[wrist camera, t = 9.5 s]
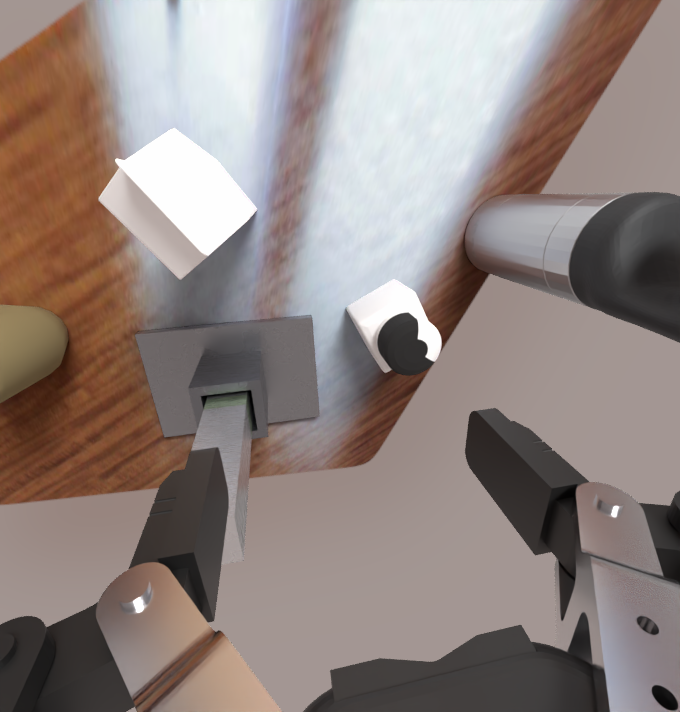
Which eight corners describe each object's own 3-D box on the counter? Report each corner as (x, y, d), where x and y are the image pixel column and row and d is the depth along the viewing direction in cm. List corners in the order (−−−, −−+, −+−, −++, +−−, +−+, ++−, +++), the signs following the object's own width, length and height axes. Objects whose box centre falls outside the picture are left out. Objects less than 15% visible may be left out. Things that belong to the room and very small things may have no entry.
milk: (217, 245, 40) (166, 295, 20) (173, 198, 38) (66, 201, 18) (258, 208, 39) (249, 223, 19) (217, 157, 37) (157, 114, 17)
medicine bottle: (369, 351, 48) (398, 395, 38) (344, 306, 45) (368, 340, 35) (416, 324, 48) (459, 360, 37) (394, 277, 45) (434, 302, 34)
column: (247, 385, 39) (234, 517, 23) (252, 416, 41) (243, 560, 25) (209, 389, 39) (167, 528, 23) (216, 421, 40) (181, 572, 24)
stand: (311, 314, 45) (322, 345, 36) (318, 411, 51) (330, 460, 41) (138, 331, 42) (101, 369, 33) (166, 432, 48) (141, 489, 38)
